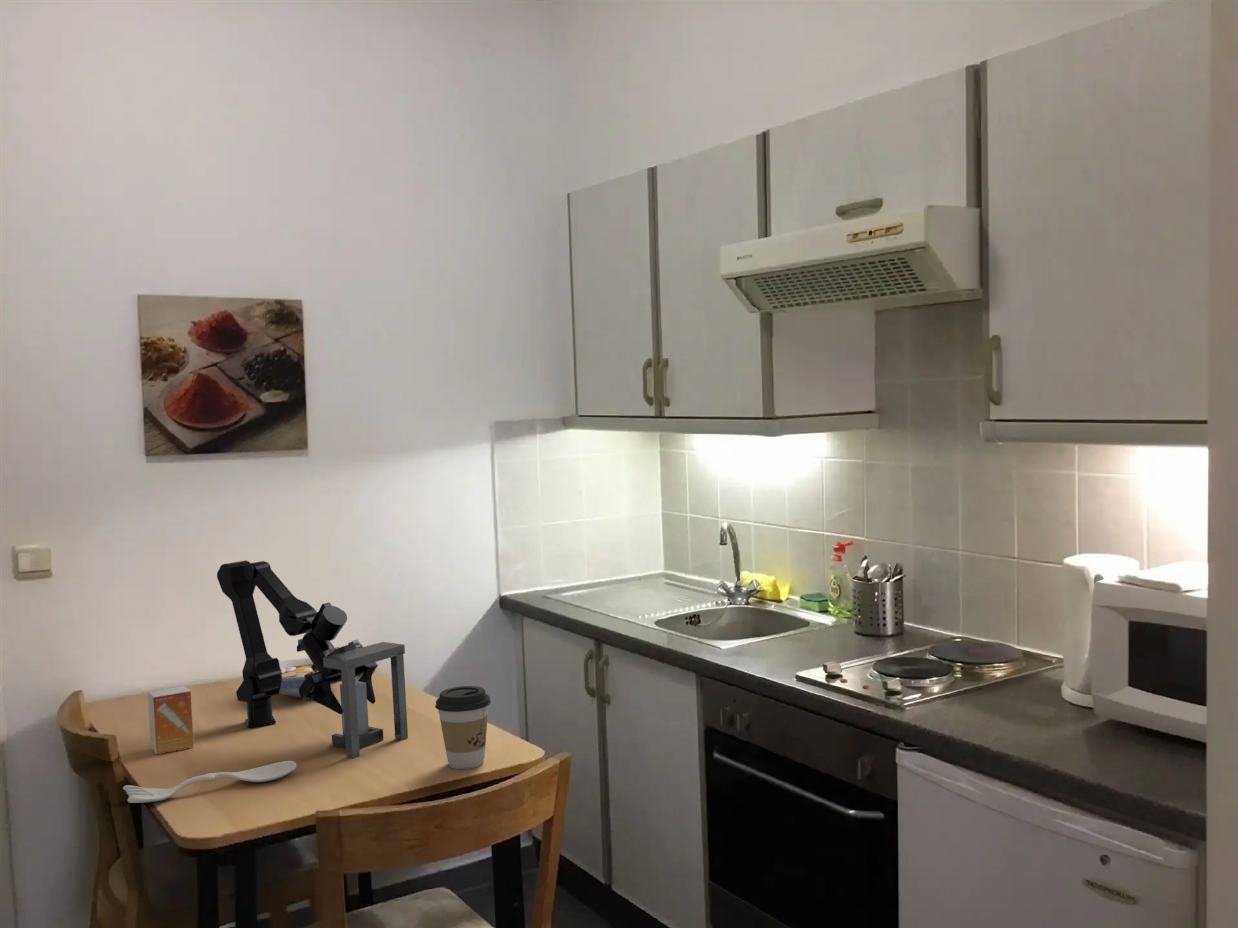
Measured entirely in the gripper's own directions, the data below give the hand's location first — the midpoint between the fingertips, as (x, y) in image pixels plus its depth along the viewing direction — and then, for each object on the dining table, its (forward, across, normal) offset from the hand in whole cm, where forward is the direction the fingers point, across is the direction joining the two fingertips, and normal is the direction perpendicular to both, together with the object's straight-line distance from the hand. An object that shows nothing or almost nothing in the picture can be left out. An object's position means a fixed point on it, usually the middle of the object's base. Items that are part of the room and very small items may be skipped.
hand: (358, 707), depth 242 cm
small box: (-20, -22, +32) cm, 44 cm away
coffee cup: (+28, +1, -16) cm, 32 cm away
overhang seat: (+6, 0, +5) cm, 8 cm away
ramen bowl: (-28, +23, +40) cm, 53 cm away
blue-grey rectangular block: (+4, 0, +6) cm, 8 cm away
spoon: (+4, -34, +9) cm, 36 cm away
